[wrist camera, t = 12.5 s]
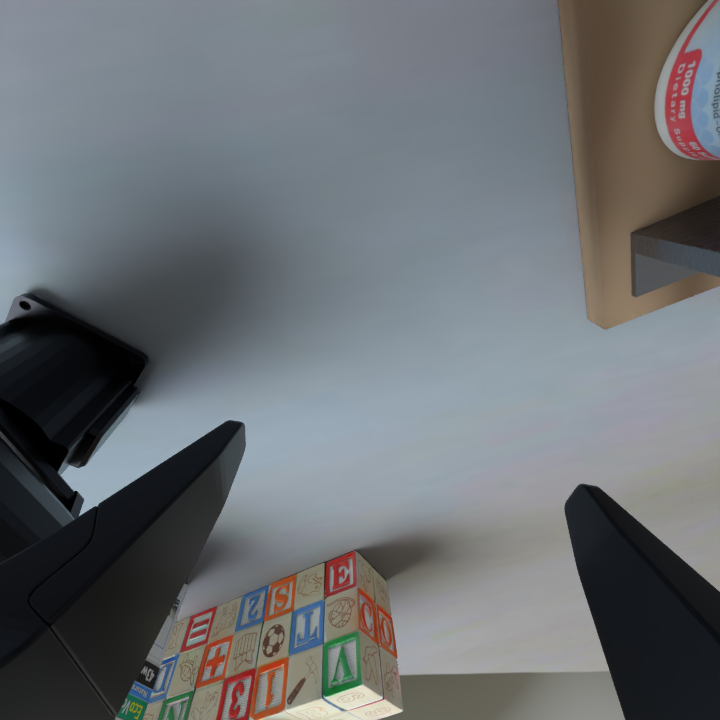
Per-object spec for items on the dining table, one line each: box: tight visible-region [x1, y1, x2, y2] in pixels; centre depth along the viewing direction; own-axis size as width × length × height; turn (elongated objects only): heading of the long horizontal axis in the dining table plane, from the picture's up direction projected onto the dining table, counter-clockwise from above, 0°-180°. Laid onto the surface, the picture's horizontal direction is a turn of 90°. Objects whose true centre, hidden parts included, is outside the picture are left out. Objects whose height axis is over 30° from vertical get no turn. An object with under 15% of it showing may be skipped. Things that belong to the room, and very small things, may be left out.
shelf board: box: [558, 0, 720, 330], centre depth 15 cm, size 11×20×2 cm, turn 23°
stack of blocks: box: [143, 551, 403, 720], centre depth 28 cm, size 21×6×12 cm, turn 119°
